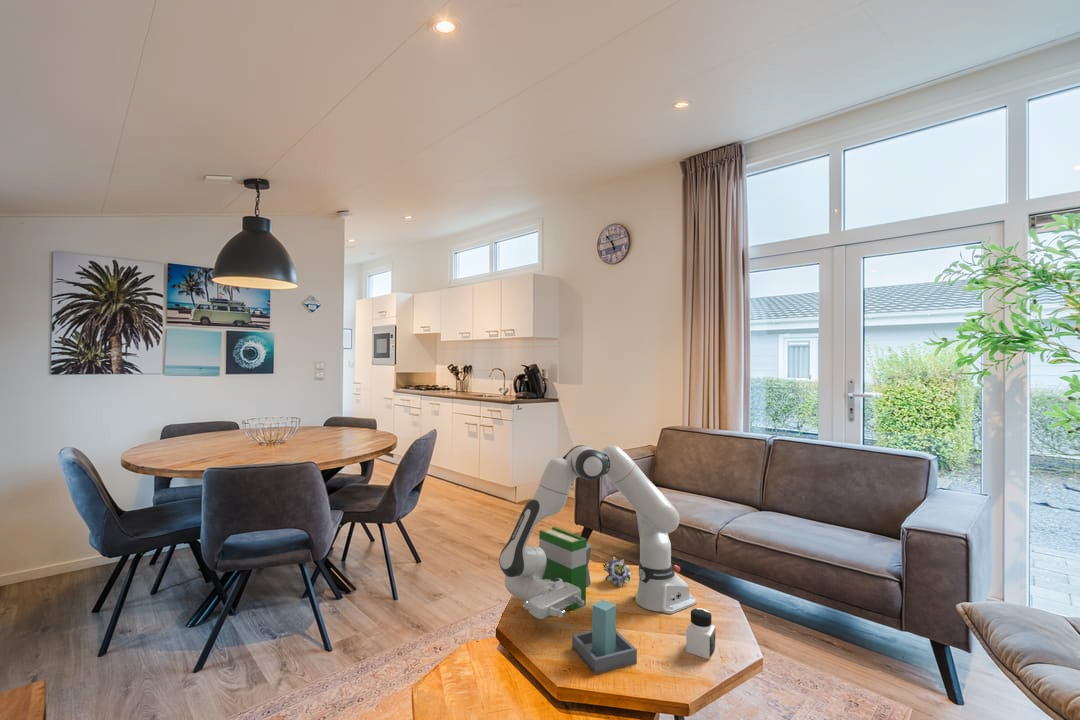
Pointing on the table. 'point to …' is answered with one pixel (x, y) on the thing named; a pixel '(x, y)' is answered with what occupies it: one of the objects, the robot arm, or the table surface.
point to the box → (600, 664)
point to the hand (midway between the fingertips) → (573, 609)
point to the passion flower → (617, 571)
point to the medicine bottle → (700, 634)
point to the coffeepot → (588, 549)
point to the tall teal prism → (603, 628)
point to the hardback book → (565, 559)
